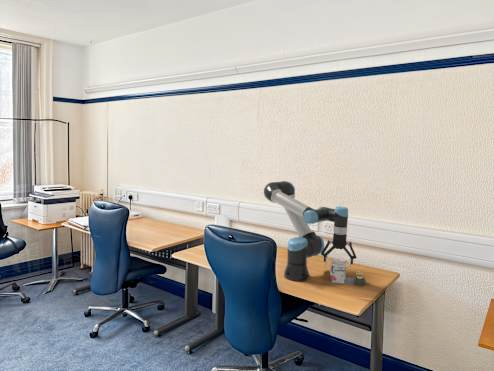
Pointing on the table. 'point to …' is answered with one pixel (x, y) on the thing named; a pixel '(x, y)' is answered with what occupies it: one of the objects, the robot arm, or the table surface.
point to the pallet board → (347, 281)
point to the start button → (359, 275)
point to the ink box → (338, 269)
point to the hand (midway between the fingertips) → (337, 268)
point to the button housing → (359, 281)
